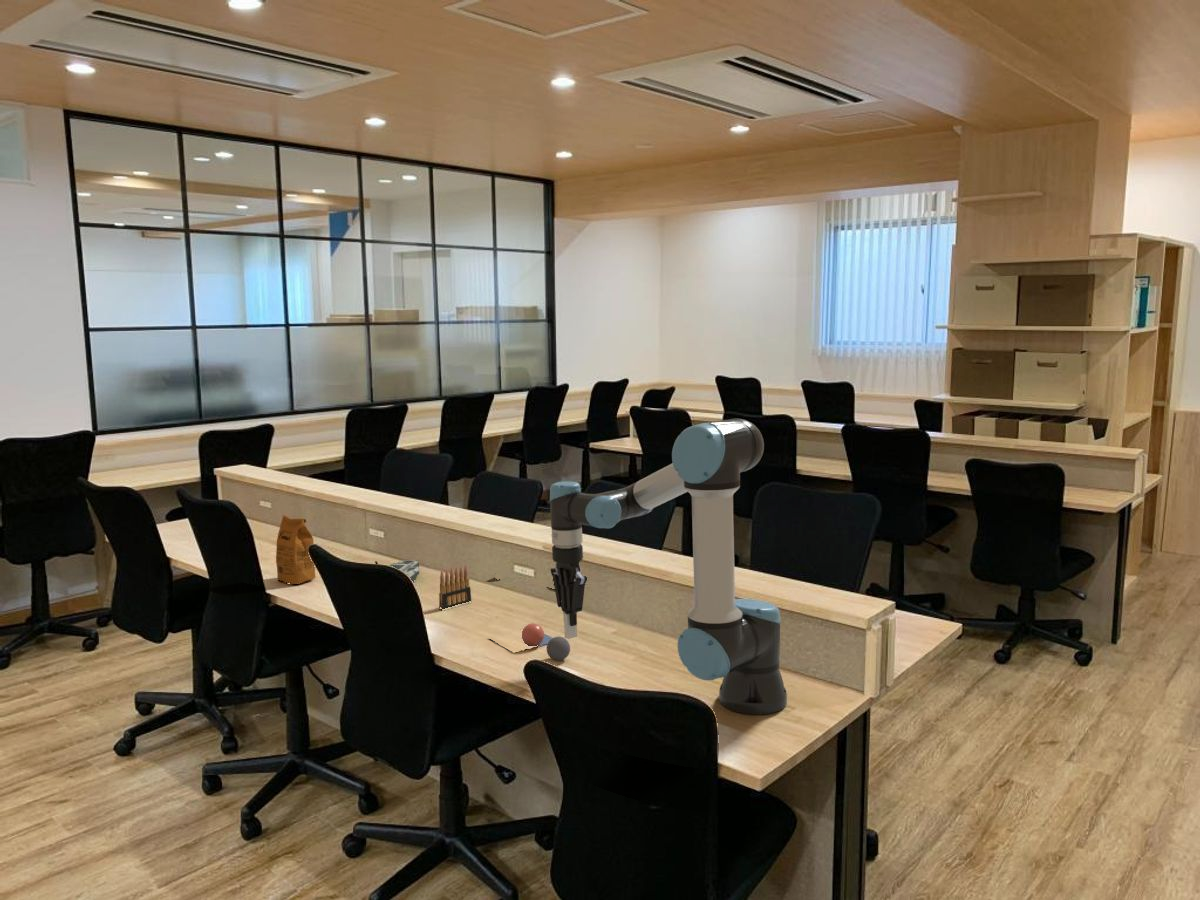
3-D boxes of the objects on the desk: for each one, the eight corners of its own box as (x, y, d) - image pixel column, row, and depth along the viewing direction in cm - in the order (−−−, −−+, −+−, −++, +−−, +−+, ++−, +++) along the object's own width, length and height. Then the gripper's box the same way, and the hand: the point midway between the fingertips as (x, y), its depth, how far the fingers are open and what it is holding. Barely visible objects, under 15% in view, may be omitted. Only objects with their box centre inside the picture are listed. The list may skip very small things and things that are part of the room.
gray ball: (566, 629, 235) (558, 642, 238) (547, 635, 231) (539, 648, 235) (577, 648, 232) (569, 661, 235) (557, 654, 228) (550, 667, 232)
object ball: (543, 618, 244) (534, 625, 249) (524, 622, 241) (515, 630, 245) (550, 639, 242) (541, 646, 246) (531, 644, 239) (522, 651, 243)
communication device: (429, 569, 321) (428, 544, 320) (410, 588, 298) (409, 562, 296) (396, 568, 322) (394, 544, 321) (374, 588, 299) (373, 562, 297)
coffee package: (298, 574, 315) (294, 511, 312) (320, 580, 308) (315, 516, 304) (272, 581, 308) (268, 517, 304) (294, 587, 300) (289, 521, 297)
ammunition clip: (468, 601, 283) (466, 563, 281) (471, 602, 281) (470, 564, 280) (439, 609, 275) (437, 570, 273) (442, 610, 274) (441, 572, 272)
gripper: (540, 542, 228) (544, 633, 231) (569, 551, 218) (573, 647, 221) (565, 537, 233) (568, 627, 236) (594, 546, 222) (598, 640, 225)
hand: (570, 637), depth 228 cm, fingers closed
